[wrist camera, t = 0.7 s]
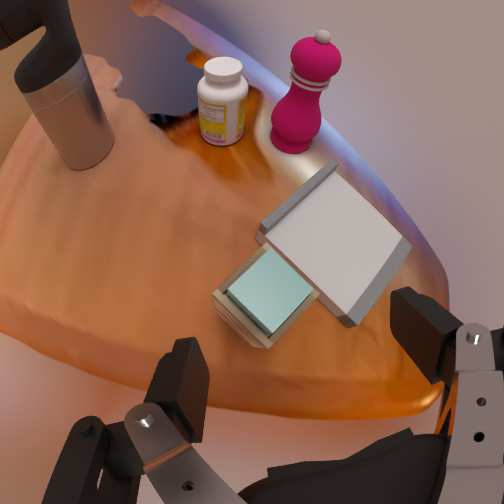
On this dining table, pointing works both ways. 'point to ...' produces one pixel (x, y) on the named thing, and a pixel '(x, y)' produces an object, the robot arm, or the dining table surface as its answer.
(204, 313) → the dining table surface
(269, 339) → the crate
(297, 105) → the pepper mill
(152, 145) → the dining table surface
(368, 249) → the dock
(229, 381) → the dining table surface
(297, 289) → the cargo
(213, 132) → the supplement bottle
